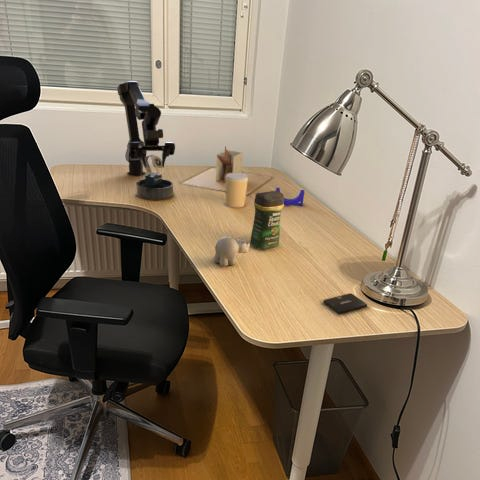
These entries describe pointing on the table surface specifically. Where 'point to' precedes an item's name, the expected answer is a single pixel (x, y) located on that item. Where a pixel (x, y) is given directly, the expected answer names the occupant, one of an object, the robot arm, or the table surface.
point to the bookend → (225, 165)
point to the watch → (153, 177)
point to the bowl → (154, 190)
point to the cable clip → (295, 200)
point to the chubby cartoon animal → (229, 250)
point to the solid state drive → (345, 303)
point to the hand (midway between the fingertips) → (154, 167)
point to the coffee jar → (267, 219)
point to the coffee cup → (236, 189)
